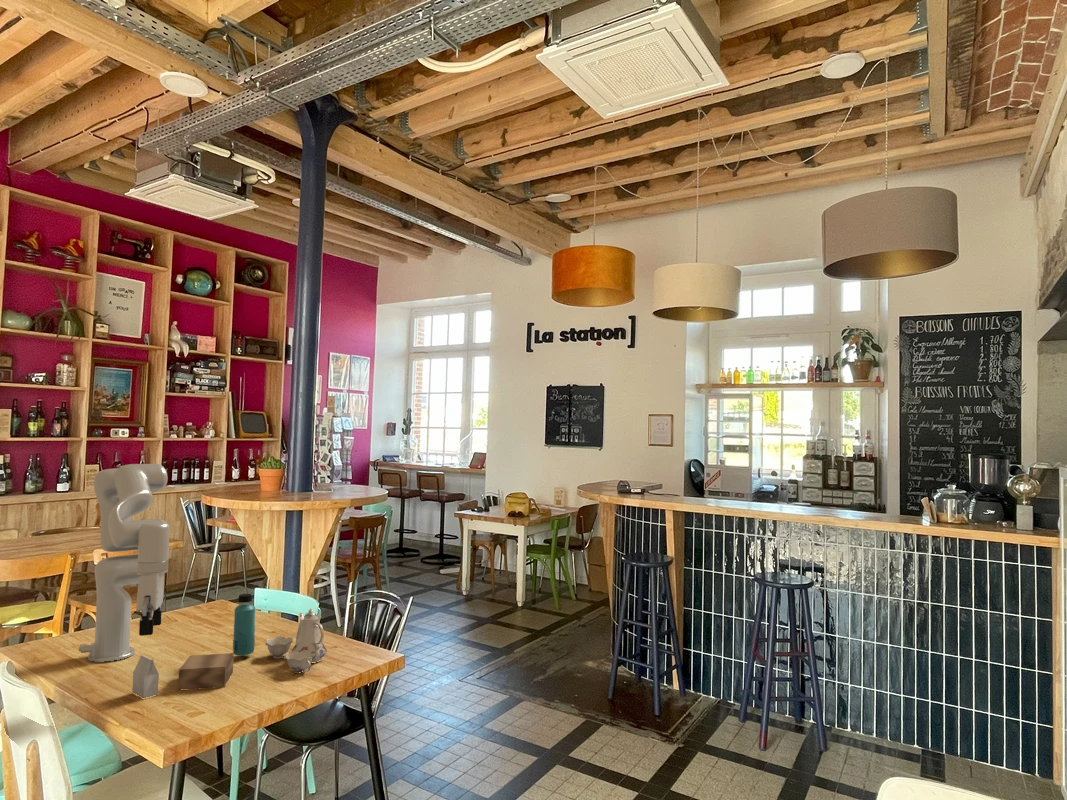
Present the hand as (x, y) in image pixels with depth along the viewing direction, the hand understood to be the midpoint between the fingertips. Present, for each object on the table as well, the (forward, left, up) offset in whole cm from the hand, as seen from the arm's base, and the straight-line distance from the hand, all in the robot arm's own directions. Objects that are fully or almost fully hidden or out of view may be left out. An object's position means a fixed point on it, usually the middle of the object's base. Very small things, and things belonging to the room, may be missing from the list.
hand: (150, 630), depth 182 cm
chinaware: (+39, +16, -18) cm, 46 cm away
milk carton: (-1, 0, -18) cm, 18 cm away
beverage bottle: (+22, +25, -18) cm, 38 cm away
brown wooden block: (+14, +6, -18) cm, 23 cm away
